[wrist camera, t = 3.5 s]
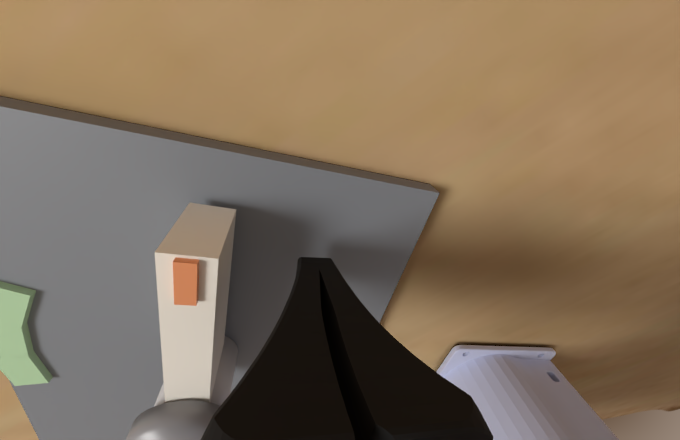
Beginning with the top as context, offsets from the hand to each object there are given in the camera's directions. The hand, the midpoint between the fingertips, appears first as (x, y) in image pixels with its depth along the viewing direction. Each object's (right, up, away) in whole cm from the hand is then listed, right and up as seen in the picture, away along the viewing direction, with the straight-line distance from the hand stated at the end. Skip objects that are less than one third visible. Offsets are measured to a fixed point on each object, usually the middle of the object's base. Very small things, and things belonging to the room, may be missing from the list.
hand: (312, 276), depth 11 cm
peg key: (-5, -2, +2) cm, 5 cm away
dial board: (-6, -4, +4) cm, 8 cm away
